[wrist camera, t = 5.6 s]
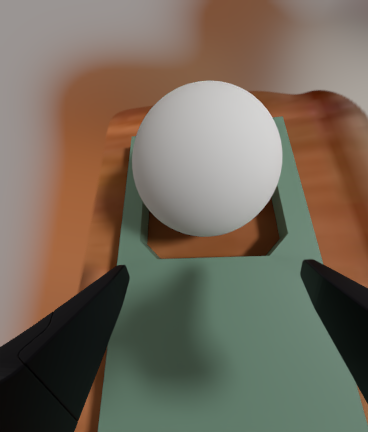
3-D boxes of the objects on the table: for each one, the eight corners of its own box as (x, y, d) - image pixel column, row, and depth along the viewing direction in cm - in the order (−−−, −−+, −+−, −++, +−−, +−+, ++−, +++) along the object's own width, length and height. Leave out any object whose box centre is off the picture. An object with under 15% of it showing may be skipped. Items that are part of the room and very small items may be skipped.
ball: (348, 11, 6) (257, 95, 17) (70, 63, 8) (144, 111, 18) (306, 264, 10) (253, 206, 20) (126, 270, 12) (161, 213, 22)
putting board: (378, 541, 10) (415, 599, 8) (104, 494, 13) (86, 530, 11) (275, 129, 21) (282, 114, 19) (138, 146, 23) (132, 135, 21)
